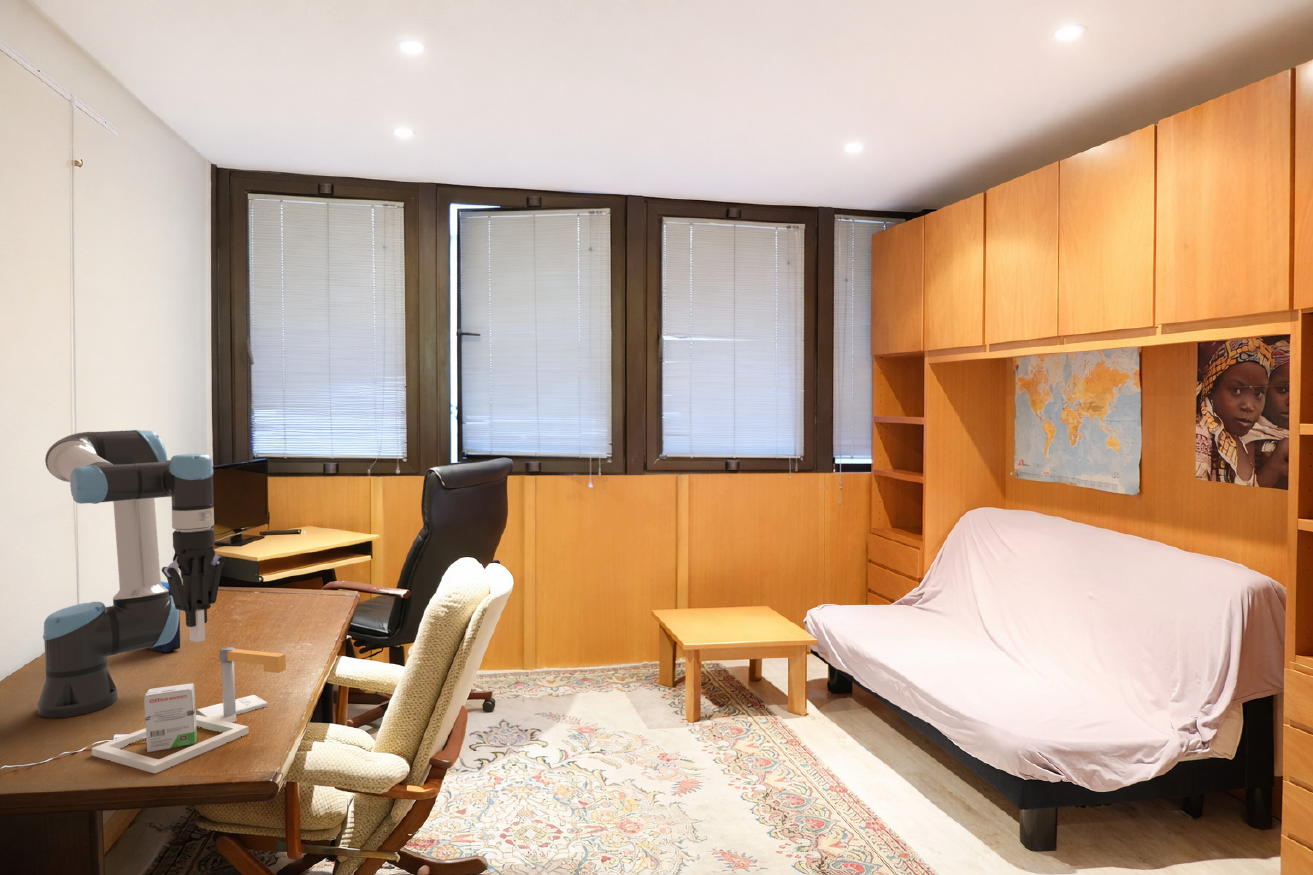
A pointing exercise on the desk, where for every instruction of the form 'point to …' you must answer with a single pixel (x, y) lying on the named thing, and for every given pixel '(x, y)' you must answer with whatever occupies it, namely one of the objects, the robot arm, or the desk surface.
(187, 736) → the ink box
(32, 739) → the desk surface
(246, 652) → the orange bar
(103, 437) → the robot arm
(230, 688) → the socket frame
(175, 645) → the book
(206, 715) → the external hard drive
